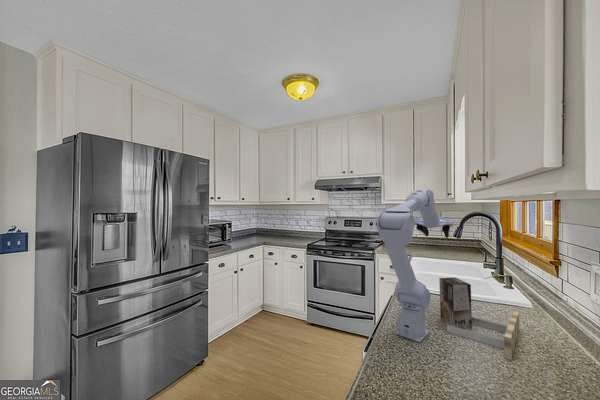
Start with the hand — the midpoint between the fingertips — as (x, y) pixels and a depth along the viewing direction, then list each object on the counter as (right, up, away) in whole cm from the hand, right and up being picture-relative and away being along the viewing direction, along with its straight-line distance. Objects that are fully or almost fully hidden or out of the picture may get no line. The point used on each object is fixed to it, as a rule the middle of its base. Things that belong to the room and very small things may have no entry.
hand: (437, 235), depth 107 cm
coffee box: (-2, -30, -16) cm, 34 cm away
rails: (+3, -30, -21) cm, 37 cm away
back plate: (+9, -30, -27) cm, 41 cm away
